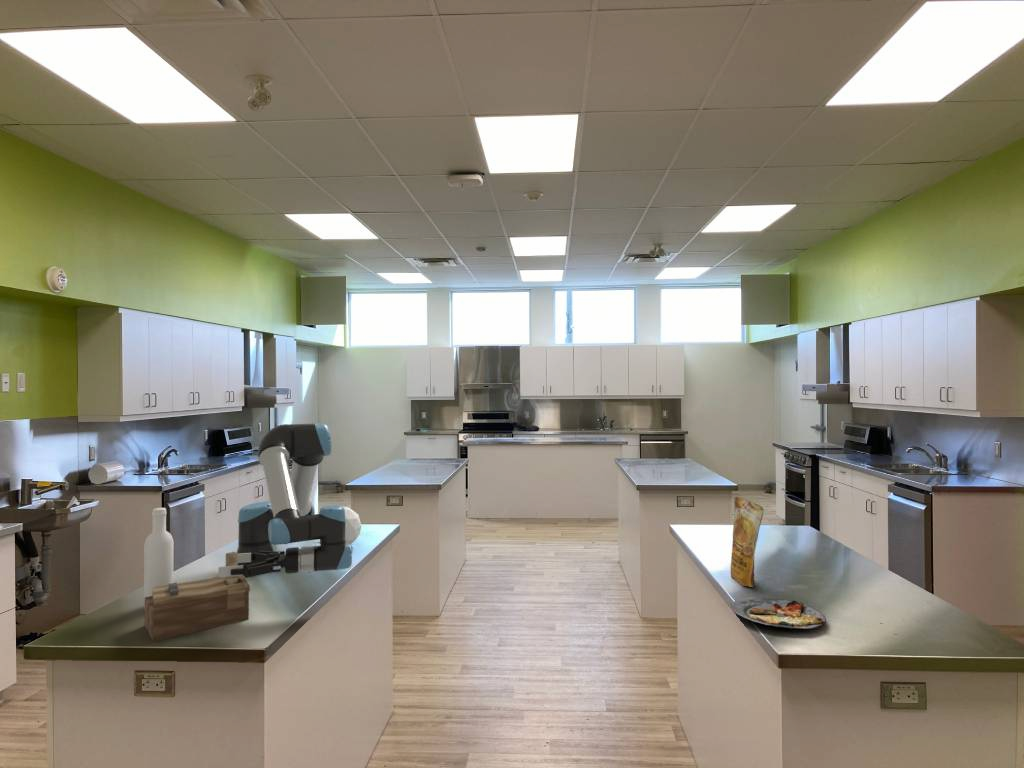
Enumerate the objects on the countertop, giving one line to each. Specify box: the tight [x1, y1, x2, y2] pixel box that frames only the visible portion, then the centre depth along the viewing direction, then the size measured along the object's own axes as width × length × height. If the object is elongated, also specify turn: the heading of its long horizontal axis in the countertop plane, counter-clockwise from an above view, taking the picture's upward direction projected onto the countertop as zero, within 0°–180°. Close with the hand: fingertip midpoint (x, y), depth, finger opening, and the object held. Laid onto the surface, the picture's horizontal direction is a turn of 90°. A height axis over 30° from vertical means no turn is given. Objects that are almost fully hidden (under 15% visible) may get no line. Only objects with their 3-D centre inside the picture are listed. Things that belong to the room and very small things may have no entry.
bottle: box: [143, 507, 175, 610], centre depth 182 cm, size 8×8×30 cm
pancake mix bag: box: [730, 496, 764, 588], centre depth 206 cm, size 7×19×28 cm, turn 0°
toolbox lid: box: [152, 575, 251, 607], centre depth 172 cm, size 14×24×3 cm, turn 123°
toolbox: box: [143, 591, 250, 642], centre depth 169 cm, size 14×24×8 cm, turn 130°
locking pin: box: [225, 551, 238, 585], centre depth 176 cm, size 3×3×14 cm
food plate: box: [731, 596, 827, 630], centre depth 172 cm, size 25×23×4 cm
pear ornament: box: [342, 506, 362, 545], centre depth 254 cm, size 16×22×28 cm
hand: (223, 565), depth 174 cm, fingers open, 13 cm apart
